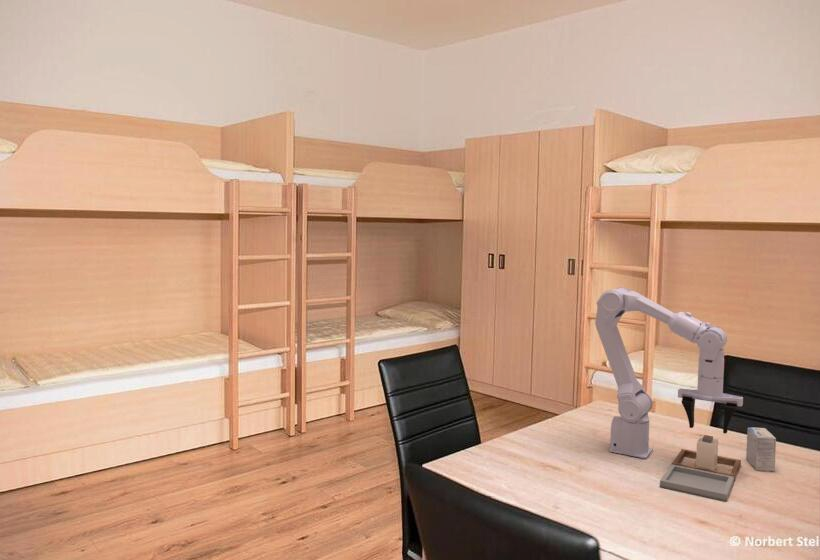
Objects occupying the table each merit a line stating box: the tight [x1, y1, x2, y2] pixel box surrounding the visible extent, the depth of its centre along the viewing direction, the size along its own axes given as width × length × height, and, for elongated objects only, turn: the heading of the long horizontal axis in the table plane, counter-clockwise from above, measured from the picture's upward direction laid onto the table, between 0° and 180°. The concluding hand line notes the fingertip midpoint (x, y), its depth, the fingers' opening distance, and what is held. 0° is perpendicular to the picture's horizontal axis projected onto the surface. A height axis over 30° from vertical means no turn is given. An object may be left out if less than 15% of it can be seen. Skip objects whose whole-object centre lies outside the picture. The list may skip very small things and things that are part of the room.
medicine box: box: [745, 427, 777, 472], centre depth 161 cm, size 8×4×9 cm, turn 168°
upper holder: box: [671, 448, 742, 483], centre depth 160 cm, size 14×12×2 cm
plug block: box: [695, 434, 719, 470], centre depth 160 cm, size 4×6×8 cm, turn 146°
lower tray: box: [659, 463, 735, 502], centre depth 149 cm, size 14×12×2 cm
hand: (708, 429), depth 159 cm, fingers open, 7 cm apart
